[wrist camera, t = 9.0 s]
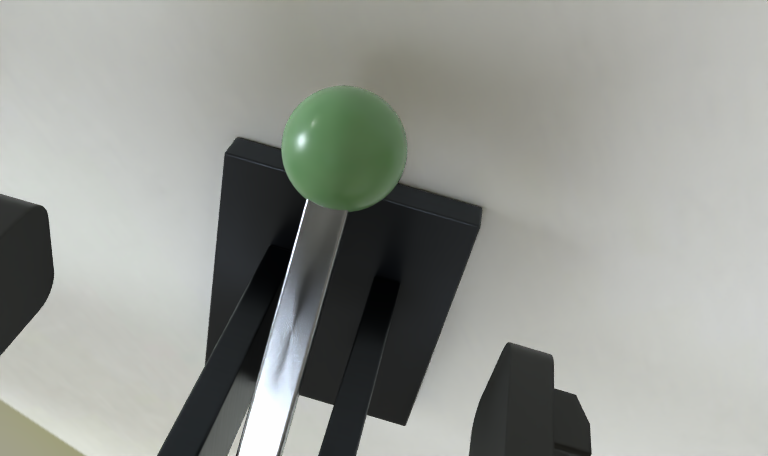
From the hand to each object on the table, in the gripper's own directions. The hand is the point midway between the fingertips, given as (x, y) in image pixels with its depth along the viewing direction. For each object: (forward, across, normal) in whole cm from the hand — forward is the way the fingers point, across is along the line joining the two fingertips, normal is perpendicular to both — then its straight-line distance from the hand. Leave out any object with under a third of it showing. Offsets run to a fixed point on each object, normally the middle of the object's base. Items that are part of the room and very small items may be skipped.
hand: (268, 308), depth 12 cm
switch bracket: (+12, 0, +10) cm, 16 cm away
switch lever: (+5, 0, +6) cm, 8 cm away
